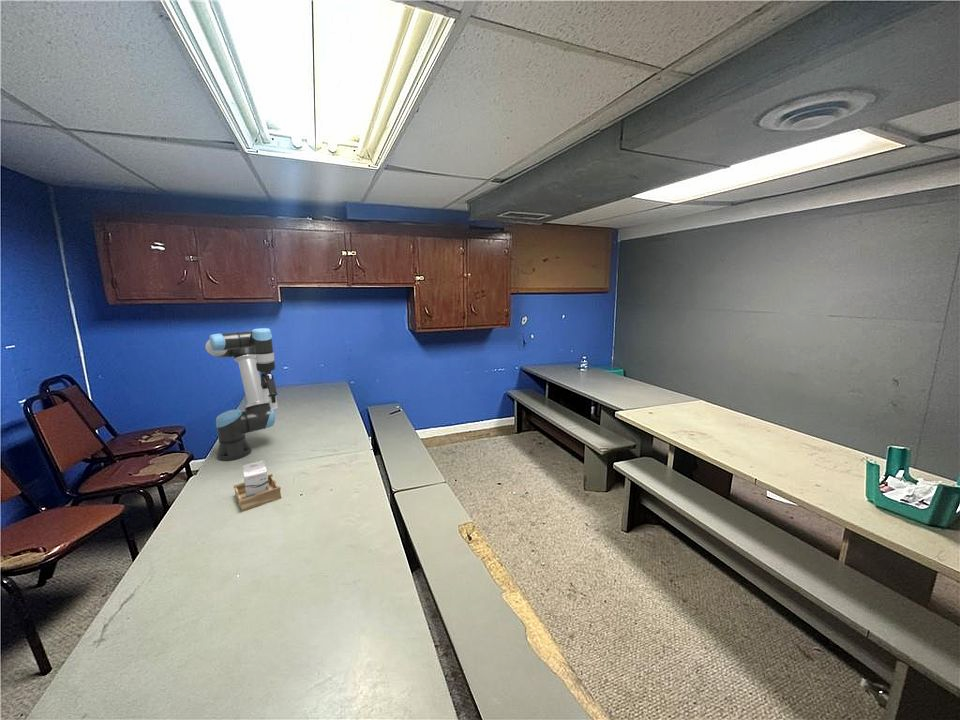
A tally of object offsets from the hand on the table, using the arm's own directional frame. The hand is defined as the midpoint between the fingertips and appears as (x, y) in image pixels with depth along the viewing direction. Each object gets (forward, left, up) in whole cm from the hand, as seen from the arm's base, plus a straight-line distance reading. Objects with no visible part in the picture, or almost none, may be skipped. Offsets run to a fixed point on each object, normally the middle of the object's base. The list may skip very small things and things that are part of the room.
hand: (270, 405), depth 175 cm
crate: (+22, -13, -33) cm, 42 cm away
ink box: (+22, -13, -32) cm, 41 cm away
